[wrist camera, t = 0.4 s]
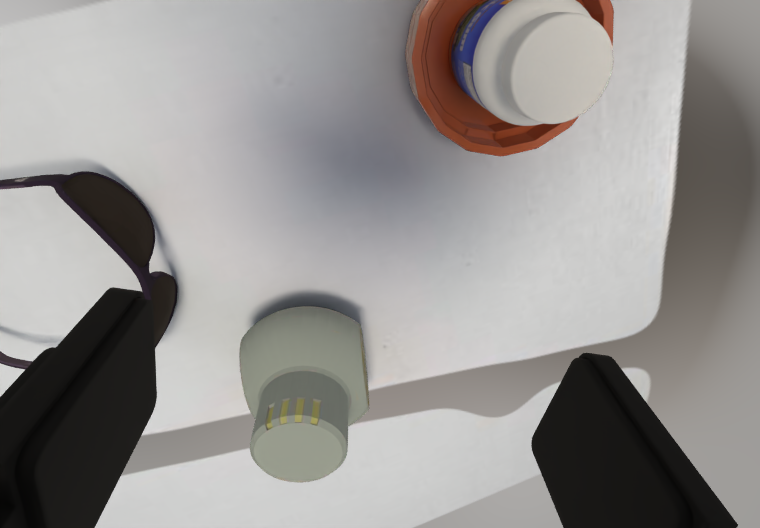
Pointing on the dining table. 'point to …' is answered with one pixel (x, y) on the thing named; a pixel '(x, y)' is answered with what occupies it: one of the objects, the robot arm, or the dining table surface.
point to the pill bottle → (531, 59)
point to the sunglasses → (112, 235)
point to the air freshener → (303, 390)
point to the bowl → (449, 102)
